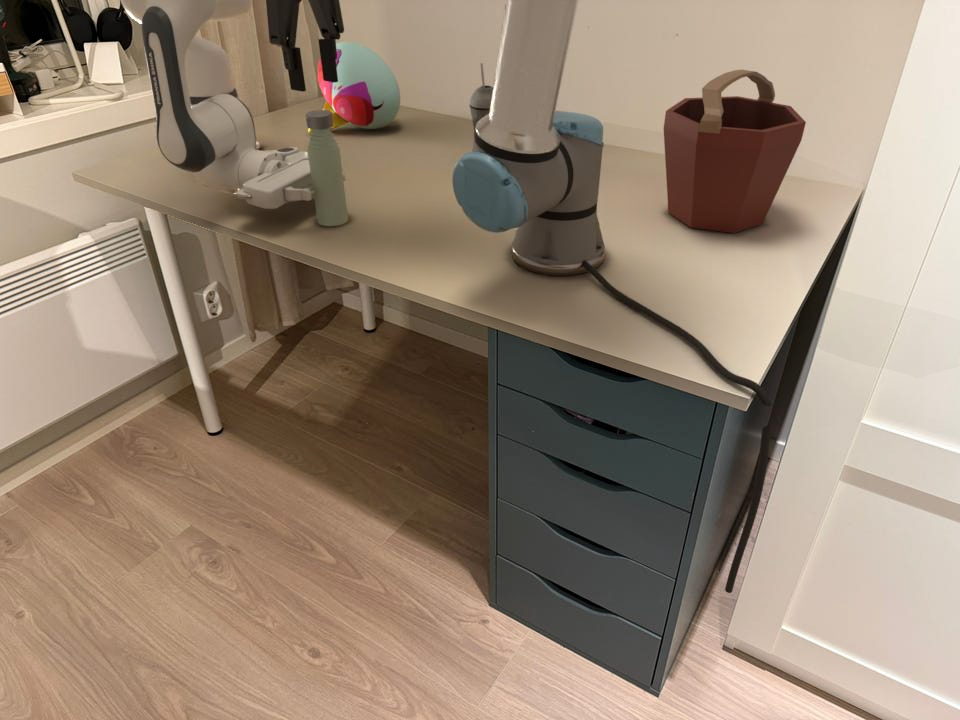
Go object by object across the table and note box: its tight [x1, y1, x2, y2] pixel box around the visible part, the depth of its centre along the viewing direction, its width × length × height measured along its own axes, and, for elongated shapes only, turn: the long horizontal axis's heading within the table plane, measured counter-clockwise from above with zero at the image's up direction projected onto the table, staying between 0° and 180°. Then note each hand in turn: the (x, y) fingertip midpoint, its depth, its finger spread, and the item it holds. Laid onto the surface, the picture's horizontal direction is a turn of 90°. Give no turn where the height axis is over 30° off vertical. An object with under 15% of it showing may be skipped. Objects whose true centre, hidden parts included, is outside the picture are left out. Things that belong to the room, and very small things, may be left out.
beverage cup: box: [468, 62, 493, 137], centre depth 154 cm, size 7×7×20 cm
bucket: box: [663, 69, 807, 234], centre depth 125 cm, size 24×22×25 cm
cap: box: [305, 109, 333, 129], centre depth 121 cm, size 4×4×2 cm
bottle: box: [306, 128, 349, 227], centre depth 126 cm, size 6×6×19 cm
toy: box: [307, 41, 401, 134], centre depth 176 cm, size 24×24×20 cm
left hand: (328, 186), depth 127 cm, fingers open, 8 cm apart
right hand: (314, 85), depth 117 cm, fingers open, 7 cm apart
